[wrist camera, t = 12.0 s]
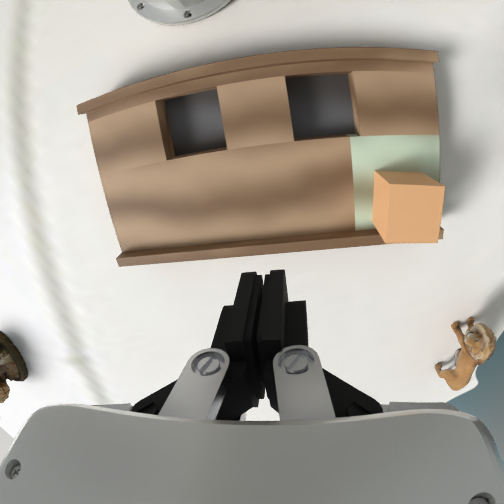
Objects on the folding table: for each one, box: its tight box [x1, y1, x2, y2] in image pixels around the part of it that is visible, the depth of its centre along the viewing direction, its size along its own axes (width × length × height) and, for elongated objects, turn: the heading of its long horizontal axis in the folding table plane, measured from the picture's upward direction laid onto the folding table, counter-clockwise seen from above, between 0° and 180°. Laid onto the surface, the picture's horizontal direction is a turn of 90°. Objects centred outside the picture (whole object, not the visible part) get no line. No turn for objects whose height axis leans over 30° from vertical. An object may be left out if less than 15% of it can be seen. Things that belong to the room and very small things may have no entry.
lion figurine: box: [435, 317, 496, 391], centre depth 34 cm, size 15×5×9 cm, turn 11°
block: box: [372, 171, 445, 243], centre depth 25 cm, size 5×5×5 cm
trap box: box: [77, 47, 444, 267], centre depth 28 cm, size 18×34×4 cm, turn 99°
